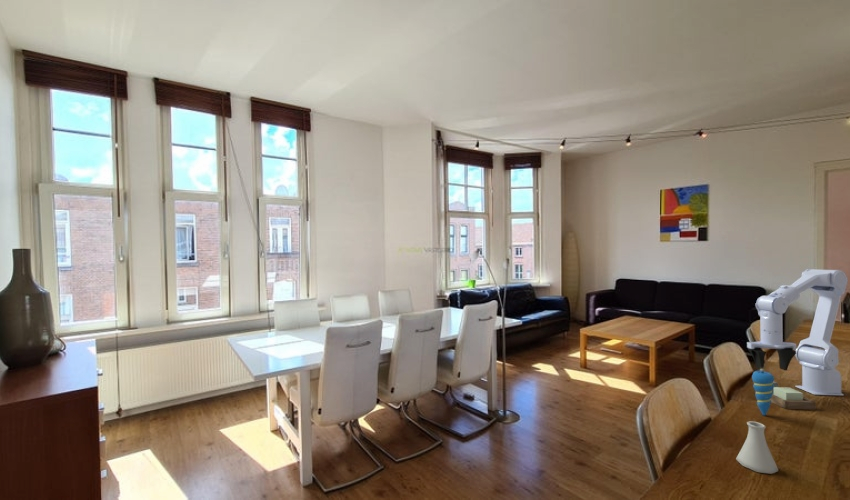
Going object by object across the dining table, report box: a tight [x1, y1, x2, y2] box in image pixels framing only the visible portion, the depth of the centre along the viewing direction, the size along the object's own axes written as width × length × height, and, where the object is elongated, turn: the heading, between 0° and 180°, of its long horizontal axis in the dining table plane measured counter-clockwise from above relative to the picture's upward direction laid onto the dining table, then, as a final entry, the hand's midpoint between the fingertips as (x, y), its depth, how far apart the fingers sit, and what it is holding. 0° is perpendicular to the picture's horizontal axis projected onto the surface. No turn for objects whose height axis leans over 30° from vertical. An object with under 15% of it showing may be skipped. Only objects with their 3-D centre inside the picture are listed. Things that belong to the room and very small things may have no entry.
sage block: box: [772, 380, 804, 401], centre depth 128 cm, size 10×5×5 cm, turn 175°
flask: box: [735, 421, 779, 475], centre depth 90 cm, size 7×7×10 cm
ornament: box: [751, 368, 775, 416], centre depth 116 cm, size 5×5×15 cm
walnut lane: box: [771, 394, 817, 410], centre depth 124 cm, size 8×9×2 cm
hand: (771, 369), depth 131 cm, fingers open, 7 cm apart
